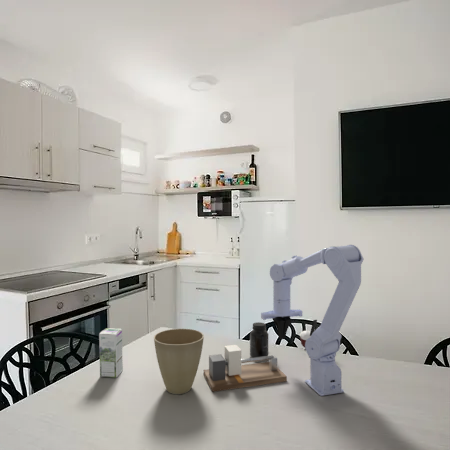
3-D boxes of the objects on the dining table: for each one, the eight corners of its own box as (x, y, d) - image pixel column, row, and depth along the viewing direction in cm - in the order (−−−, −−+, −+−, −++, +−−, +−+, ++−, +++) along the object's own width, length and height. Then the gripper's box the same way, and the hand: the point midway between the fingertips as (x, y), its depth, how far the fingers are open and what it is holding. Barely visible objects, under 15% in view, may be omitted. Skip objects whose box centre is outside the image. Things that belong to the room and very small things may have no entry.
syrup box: (123, 370, 120) (122, 327, 120) (116, 378, 114) (115, 333, 114) (107, 369, 121) (106, 327, 120) (99, 377, 115) (98, 333, 115)
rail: (277, 370, 117) (277, 355, 116) (217, 378, 111) (217, 363, 111) (274, 367, 118) (274, 353, 118) (216, 375, 113) (216, 360, 113)
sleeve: (241, 374, 112) (241, 350, 111) (229, 375, 110) (229, 351, 110) (236, 367, 116) (236, 344, 116) (224, 369, 115) (224, 346, 115)
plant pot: (196, 403, 99) (196, 346, 99) (146, 398, 102) (145, 342, 102) (209, 379, 114) (209, 329, 113) (165, 375, 117) (164, 326, 116)
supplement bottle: (269, 360, 128) (269, 327, 128) (250, 360, 129) (250, 327, 128) (267, 352, 135) (267, 321, 135) (249, 352, 135) (249, 321, 135)
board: (286, 381, 112) (286, 376, 112) (212, 391, 105) (212, 386, 105) (271, 365, 124) (271, 361, 124) (203, 374, 117) (203, 369, 117)
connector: (225, 379, 110) (225, 360, 110) (212, 381, 109) (212, 361, 109) (221, 372, 115) (221, 354, 115) (209, 374, 114) (208, 355, 114)
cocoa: (299, 344, 145) (297, 314, 146) (314, 343, 145) (313, 314, 145) (303, 351, 136) (301, 320, 136) (319, 351, 136) (318, 319, 136)
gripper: (295, 295, 128) (295, 332, 128) (257, 297, 124) (257, 336, 124) (305, 299, 121) (305, 339, 121) (265, 302, 117) (265, 343, 117)
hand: (281, 338), depth 122 cm, fingers closed
